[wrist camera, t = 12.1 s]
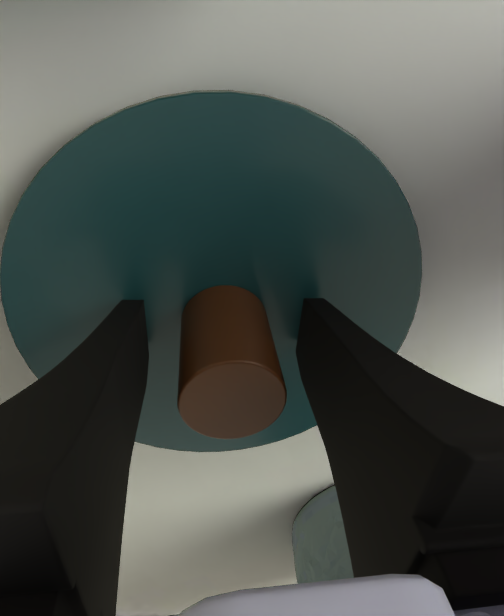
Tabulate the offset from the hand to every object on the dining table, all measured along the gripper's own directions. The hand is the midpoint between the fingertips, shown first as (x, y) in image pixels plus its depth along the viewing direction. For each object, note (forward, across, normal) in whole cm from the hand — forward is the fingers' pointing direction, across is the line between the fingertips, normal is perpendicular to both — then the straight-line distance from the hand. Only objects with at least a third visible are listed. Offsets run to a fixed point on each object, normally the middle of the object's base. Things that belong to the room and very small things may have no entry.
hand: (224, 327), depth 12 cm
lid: (+1, 0, 0) cm, 1 cm away
